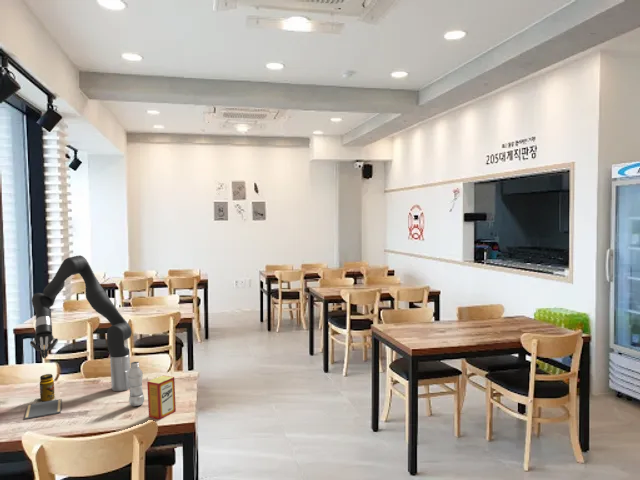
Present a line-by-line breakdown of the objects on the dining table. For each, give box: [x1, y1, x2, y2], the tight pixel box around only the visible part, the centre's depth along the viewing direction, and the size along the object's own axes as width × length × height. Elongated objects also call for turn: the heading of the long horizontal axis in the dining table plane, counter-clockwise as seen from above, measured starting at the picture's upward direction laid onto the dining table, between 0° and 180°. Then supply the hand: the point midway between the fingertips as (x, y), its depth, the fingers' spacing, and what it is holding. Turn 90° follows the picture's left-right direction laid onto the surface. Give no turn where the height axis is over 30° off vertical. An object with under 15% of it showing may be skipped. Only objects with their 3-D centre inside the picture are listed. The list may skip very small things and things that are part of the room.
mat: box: [24, 398, 62, 420], centre depth 225 cm, size 18×14×1 cm
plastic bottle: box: [128, 361, 145, 407], centre depth 226 cm, size 6×7×20 cm
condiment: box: [34, 373, 57, 403], centre depth 236 cm, size 7×8×12 cm
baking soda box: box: [146, 375, 177, 420], centre depth 215 cm, size 10×6×16 cm
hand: (44, 357), depth 245 cm, fingers closed
